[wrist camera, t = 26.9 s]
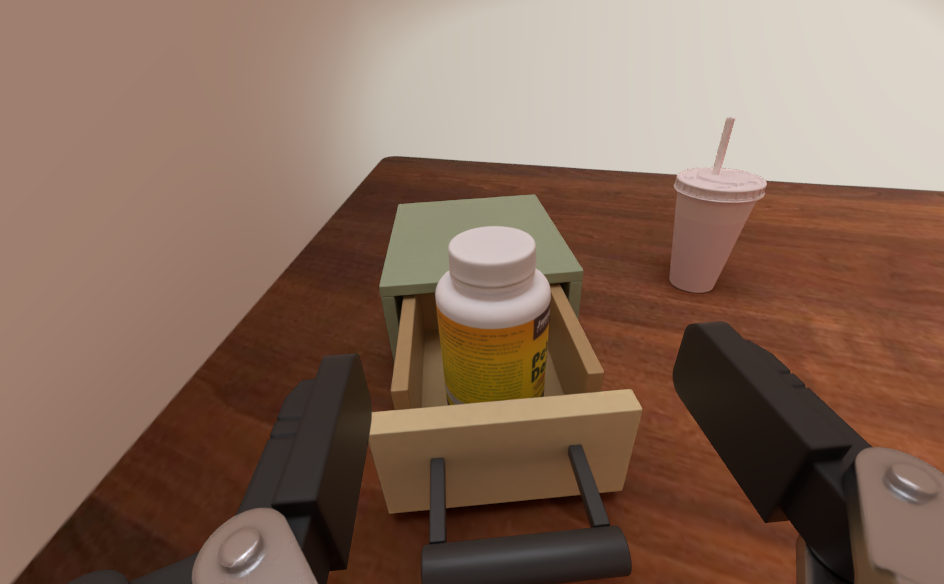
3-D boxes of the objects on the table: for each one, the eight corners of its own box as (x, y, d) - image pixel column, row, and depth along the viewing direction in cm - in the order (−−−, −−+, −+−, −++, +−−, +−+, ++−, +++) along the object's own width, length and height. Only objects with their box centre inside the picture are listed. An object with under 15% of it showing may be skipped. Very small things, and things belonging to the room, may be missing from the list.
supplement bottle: (544, 447, 21) (557, 274, 15) (438, 438, 22) (415, 271, 16) (542, 371, 25) (552, 218, 20) (456, 366, 26) (442, 218, 21)
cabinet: (573, 363, 29) (584, 270, 25) (396, 378, 28) (378, 286, 24) (532, 266, 41) (535, 194, 37) (409, 276, 41) (398, 203, 37)
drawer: (672, 612, 16) (713, 533, 12) (375, 645, 15) (341, 571, 12) (554, 326, 31) (559, 259, 28) (406, 338, 31) (395, 272, 28)
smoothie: (695, 261, 40) (737, 109, 33) (748, 293, 35) (813, 122, 28) (639, 272, 39) (670, 117, 32) (685, 307, 34) (735, 131, 26)
